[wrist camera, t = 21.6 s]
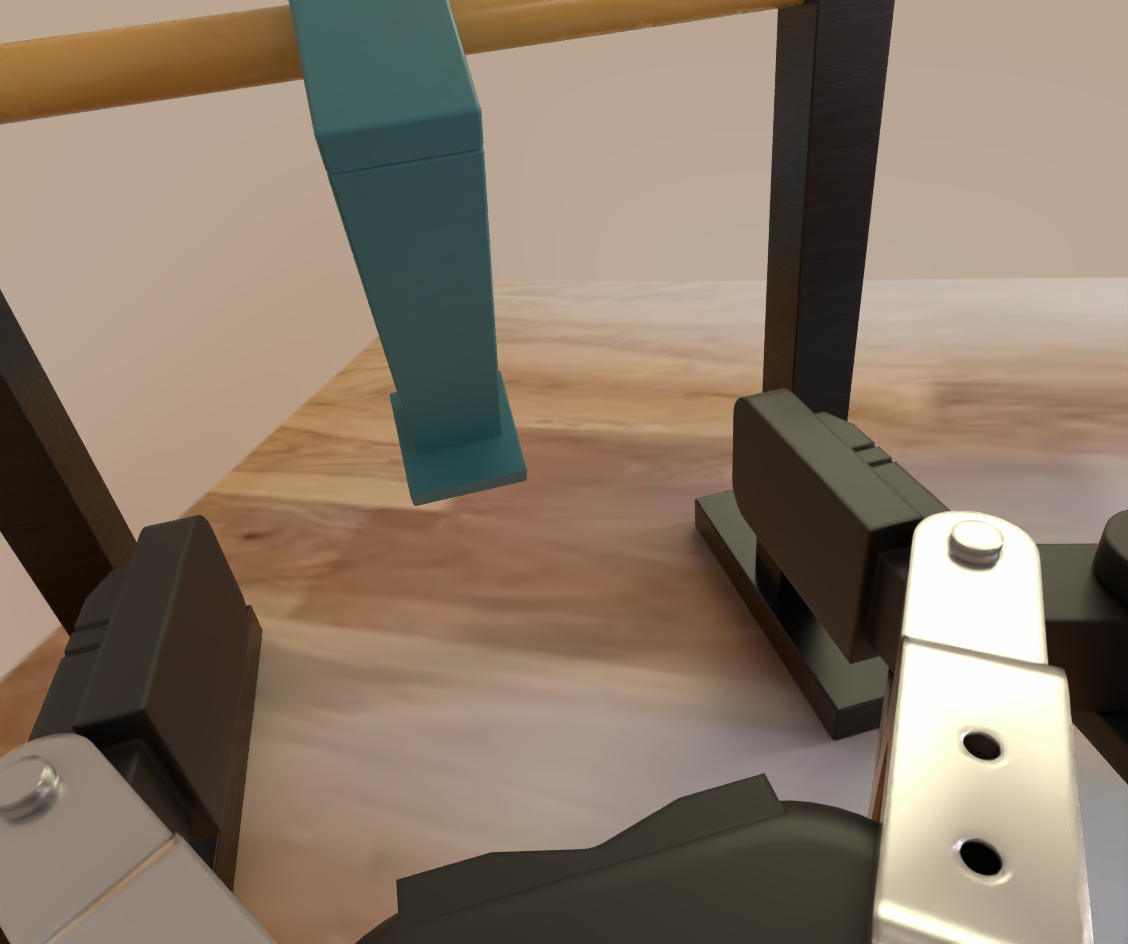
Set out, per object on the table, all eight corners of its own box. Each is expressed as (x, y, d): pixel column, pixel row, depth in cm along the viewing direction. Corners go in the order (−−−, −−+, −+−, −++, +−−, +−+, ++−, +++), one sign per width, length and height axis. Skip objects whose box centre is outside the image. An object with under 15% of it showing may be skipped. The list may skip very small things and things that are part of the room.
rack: (917, 717, 26) (1125, -193, 13) (122, 948, 22) (-702, 24, 9) (757, 509, 35) (782, -124, 22) (188, 648, 32) (-168, -5, 19)
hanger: (527, 480, 28) (528, 167, 14) (414, 506, 27) (296, 207, 13) (469, 263, 31) (423, -167, 17) (368, 282, 30) (235, -146, 16)
